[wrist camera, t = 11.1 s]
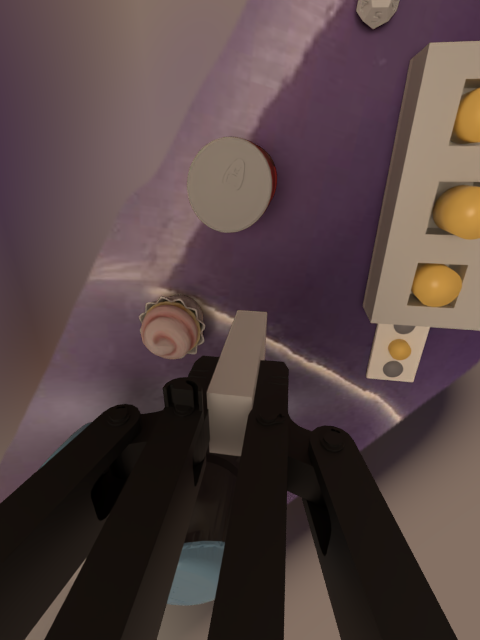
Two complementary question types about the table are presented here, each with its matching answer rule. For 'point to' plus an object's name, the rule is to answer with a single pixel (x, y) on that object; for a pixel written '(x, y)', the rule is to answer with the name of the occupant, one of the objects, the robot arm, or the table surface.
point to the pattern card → (396, 352)
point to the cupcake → (172, 326)
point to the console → (427, 194)
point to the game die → (376, 11)
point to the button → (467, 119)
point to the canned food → (231, 184)
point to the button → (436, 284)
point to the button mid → (459, 211)
